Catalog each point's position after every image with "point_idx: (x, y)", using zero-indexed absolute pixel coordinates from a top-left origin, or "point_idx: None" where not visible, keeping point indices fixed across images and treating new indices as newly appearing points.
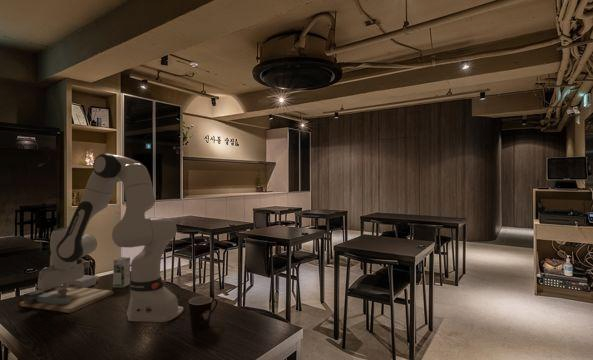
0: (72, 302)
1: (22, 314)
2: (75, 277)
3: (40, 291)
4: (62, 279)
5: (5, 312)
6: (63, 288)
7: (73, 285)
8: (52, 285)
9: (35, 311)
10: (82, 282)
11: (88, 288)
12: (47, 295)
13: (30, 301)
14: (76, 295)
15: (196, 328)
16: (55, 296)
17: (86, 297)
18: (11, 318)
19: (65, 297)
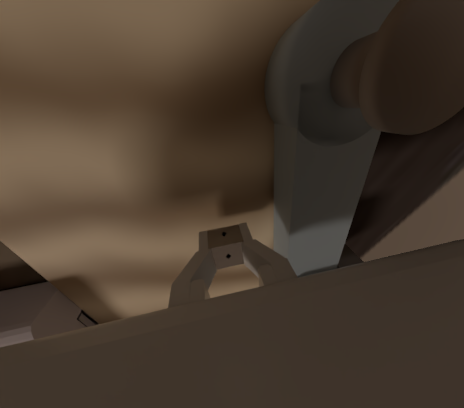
0: (271, 17)
1: (393, 188)
2: (39, 383)
3: None
4: (308, 369)
5: (367, 251)
6: (213, 266)
7: (89, 324)
8: (431, 276)
9: None
10: (22, 322)
11: (12, 242)
12: (321, 239)
13: (348, 251)
14: (148, 174)
15: None
16: (337, 174)
17: (102, 7)
18: (431, 183)
19: (364, 32)
